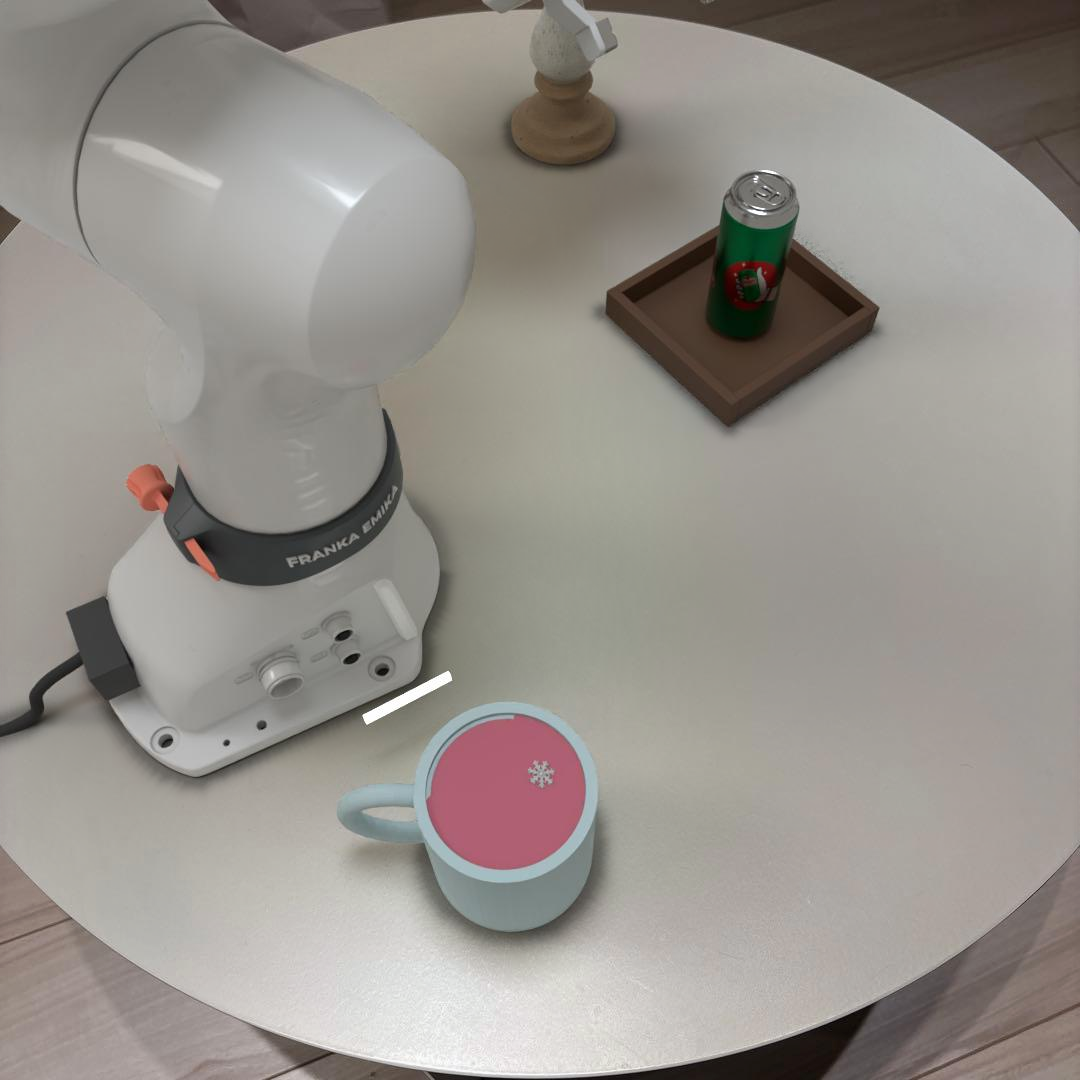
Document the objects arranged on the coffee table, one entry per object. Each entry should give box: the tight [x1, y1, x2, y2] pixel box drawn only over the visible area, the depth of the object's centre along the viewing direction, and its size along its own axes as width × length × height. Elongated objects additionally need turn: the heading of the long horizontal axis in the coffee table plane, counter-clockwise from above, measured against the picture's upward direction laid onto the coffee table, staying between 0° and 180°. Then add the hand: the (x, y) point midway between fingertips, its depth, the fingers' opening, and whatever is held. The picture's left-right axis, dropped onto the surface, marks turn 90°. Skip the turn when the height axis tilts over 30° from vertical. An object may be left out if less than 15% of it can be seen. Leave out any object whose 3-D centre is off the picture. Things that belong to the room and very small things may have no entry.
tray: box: [605, 224, 880, 427], centre depth 85 cm, size 15×14×2 cm
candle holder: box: [510, 0, 616, 166], centre depth 88 cm, size 9×9×20 cm
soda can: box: [706, 169, 800, 338], centre depth 80 cm, size 5×5×12 cm
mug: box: [335, 701, 599, 933], centre depth 61 cm, size 14×9×10 cm
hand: (662, 25), depth 71 cm, fingers open, 8 cm apart
